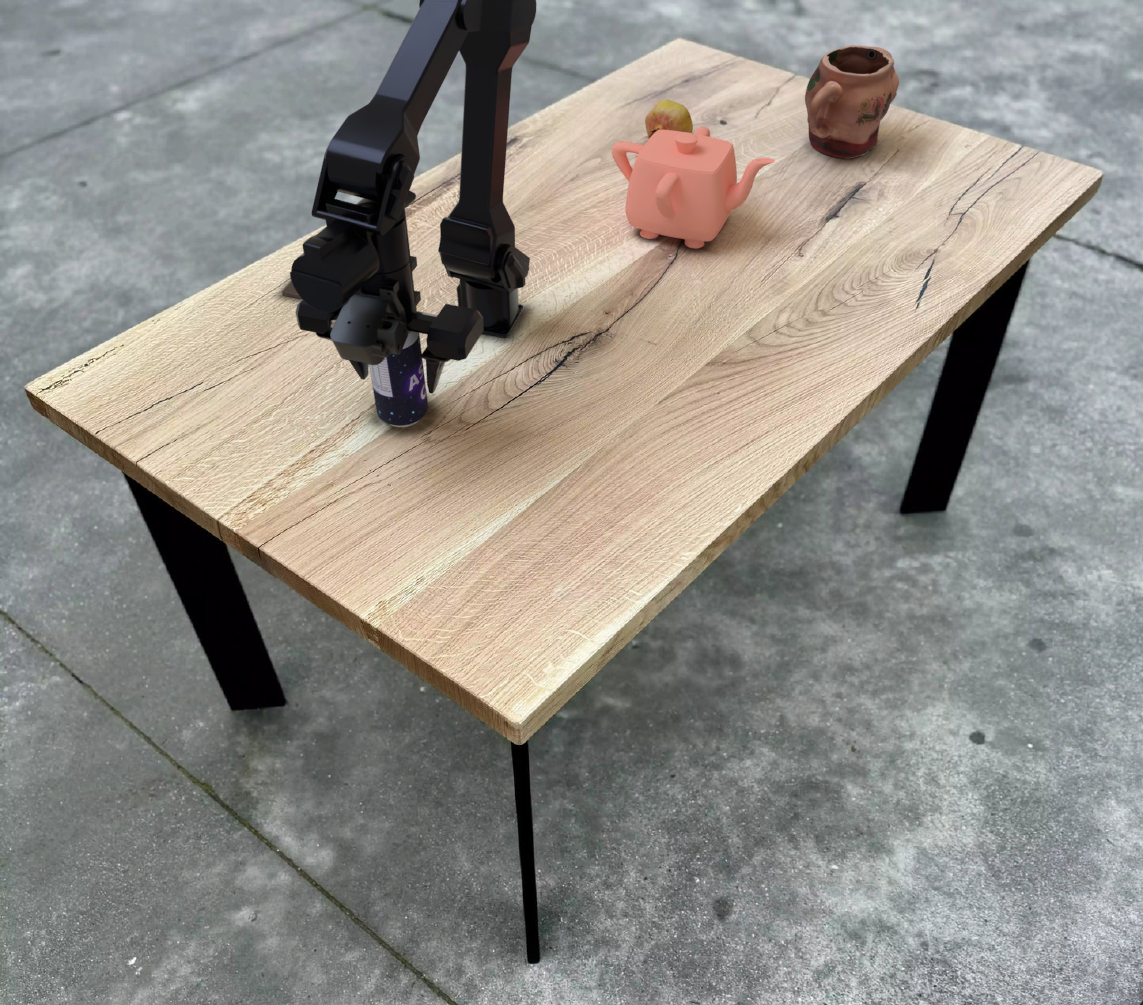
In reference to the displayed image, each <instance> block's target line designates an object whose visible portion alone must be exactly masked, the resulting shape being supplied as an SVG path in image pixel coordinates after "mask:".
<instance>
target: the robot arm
mask: <svg viewBox="0 0 1143 1005" xmlns="http://www.w3.org/2000/svg"><path fill="white" fill-rule="evenodd" d="M418 4H419V9H418V11H417V12H416V15H415V16H414V18H413V20H412V23H411V25H410V26H409V28H408V30H407V32H406V34H405V36H404V38H403V40H402V42H401V43H400V46H399V47H398V48H397V51H396V53H395V55H394V57H393V59H392V61H391V62H390V64H389V67H388V69H387V71H386V73H385V74H384V76H383V78H382V80H381V82H380V84H379V86H378V88H377V90H376V92H375V94H374V95H373V97H372V99H370V101H369V102H368V103H367V104H366V105H364V106H361V107H360V108H359V109H357V110H356V111H354V112H352V113H351V114H349V115H348V116H347V117H346V118H345V119H344V121H343V122H342V124H340V126H339V128H338V129H337V131H336V132H335V134H334V135H333V137H332V138H331V139H330V141H329V143H328V144H327V147H326V149H325V152H324V156H323V159H322V164H321V169H320V173H319V177H318V182H317V186H316V191H315V196H314V200H313V204H312V209H311V217H313V218H315V219H320V220H323V221H325V224H326V226H325V227H324V228H323V229H321V230H320V231H319V232H318V233H317V234H314V235H312V236H310V237H309V238H308V239H306V240H305V241H304V242H303V243H302V245H301V246H302V251H303V253H301V254H300V255H298V256H297V258H295V259H294V260H293V262H292V264H291V270H290V272H289V277H290V282H291V281H292V284H293V286H294V288H295V290H296V292H297V293H298V294H299V296H300V297H301V298H302V299H300V301H299V302H298V303H297V305H296V309H295V317H296V322H297V326H298V328H299V330H300V331H305V332H311V333H315V335H316V336H317V337H318V338H320V339H324V340H327V341H331V342H332V344H333V345H334V347H335V349H336V351H337V353H338V355H339V357H340V358H341V359H342V360H345V361H348V362H349V363H350V365H351V366H352V368H353V370H354V371H355V372H356V374H357V375H358V377H359V378H360V380H363V381H364V380H366V379H367V378H368V376H369V370H370V368H369V365H378V364H380V363H381V362H382V361H383V360H384V358H387V357H388V356H389V354H397V355H398V354H400V353H401V351H402V349H403V347H404V344H405V342H406V339H407V337H408V331H412V332H417V333H419V334H423V335H426V347H425V349H424V350H423V351H422V355H421V357H422V360H425V369H426V370H425V371H426V372H425V373H426V387H427V390H428V393H429V394H431V395H433V394H434V393H435V391H436V389H437V387H438V384H439V381H440V379H441V375H442V372H443V370H444V367H445V364H446V363H447V362H449V361H451V360H453V361H457V362H459V361H463V360H466V359H468V357H469V355H470V353H471V352H472V350H473V348H475V345H476V344H477V342H478V341H479V339H480V337H481V335H482V334H485V335H490V336H495V337H501V338H507V337H509V335H510V334H511V332H512V330H513V328H514V327H515V325H516V324H517V322H518V320H519V319H520V317H521V315H522V313H523V312H524V305H523V304H520V303H519V289H522V288H524V287H525V286H526V278H527V277H528V276H529V271H530V262H531V258H530V256H528V255H527V254H526V253H525V252H522V251H521V250H520V249H519V248H518V247H516V227H515V223H514V222H513V220H512V217H511V216H510V213H509V212H508V209H507V208H506V205H505V203H504V189H505V176H506V162H507V160H506V159H507V149H508V148H507V146H508V135H509V134H508V133H509V132H508V131H509V120H510V119H509V118H510V106H511V105H510V103H511V92H512V91H511V90H512V76H513V75H512V74H513V68H514V65H515V64H517V61H518V60H519V58H520V57H521V55H522V54H523V53H524V51H525V50H526V48H527V46H528V45H529V44H530V41H531V40H530V39H531V35H532V34H531V33H532V29H533V28H532V27H533V24H534V22H535V19H536V15H537V0H419V3H418ZM458 53H459V54H460V55H461V58H462V60H463V62H464V64H465V65H464V66H465V72H464V94H463V113H462V130H461V131H462V134H461V154H460V176H459V177H460V178H459V196H458V202H457V203H456V204H455V205H454V207H453V208H452V210H451V212H450V213H449V214H448V216H445V217H443V218H442V219H441V221H440V223H439V234H440V238H439V246H438V249H437V252H438V253H439V257H440V262H441V264H442V265H443V267H444V269H445V272H446V274H447V277H449V278H453V279H458V280H459V283H458V284H457V286H456V298H457V305H455V304H449V303H445V304H444V305H443V307H442V308H441V309H440V311H439V313H438V314H436V313H435V314H434V313H430V312H422V311H418V309H417V306H418V304H419V303H420V302H421V300H422V296H421V295H422V294H421V291H419V290H415V284H414V275H413V272H414V271H415V269H416V268H417V267H418V259H417V256H413V255H411V248H410V240H409V232H408V230H409V229H408V222H407V214H406V212H407V211H406V208H407V207H408V206H409V205H411V204H412V203H413V202H414V201H416V199H417V194H416V192H414V191H412V190H410V189H411V188H412V185H413V182H414V180H415V174H416V171H417V168H418V165H419V163H420V160H421V154H420V147H419V140H418V136H419V133H420V131H421V128H422V125H423V124H424V121H425V119H426V118H427V115H428V113H429V111H430V109H431V107H432V105H433V103H434V101H435V99H436V97H437V95H438V94H439V91H440V89H441V87H442V86H443V84H444V81H445V79H446V78H447V75H448V73H449V71H450V70H451V68H452V66H453V63H454V61H455V59H456V58H457V56H458ZM338 193H342V194H345V195H350V196H353V197H357V198H361V199H360V200H359V201H358V202H356V203H353V202H349V201H346V200H341V199H338V198H336V197H337V195H338Z"/></svg>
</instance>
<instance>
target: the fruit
mask: <svg viewBox="0 0 1143 1005" xmlns="http://www.w3.org/2000/svg"><path fill="white" fill-rule="evenodd" d="M644 125H645V130H646V135H647V138H648V140H649V139H650V137H651V136H652V135H653V134H654V133H655V132H656V131H657V130H672V131H680V132H687V133H693V130H694V124H693V120H692V116H691V114H690V112H689V110H688V108H687V107H686V106H685V105H683V104H681V103H680V102H677V101H674V100H671V99H662V100H660V101H658V102H657V103H656V104H655V105H654V107H653V108H652V109H651V110H650V111H648V113H647V114H646V116H645V119H644Z"/></svg>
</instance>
